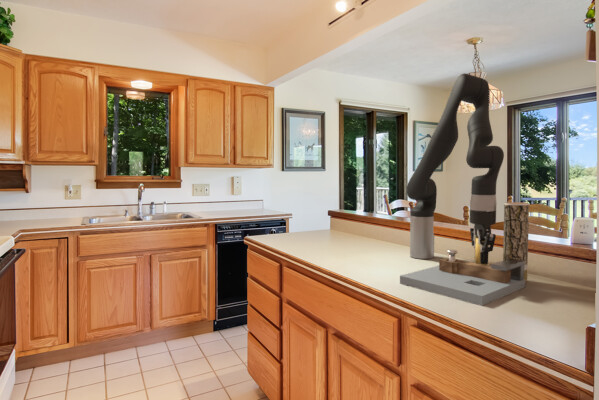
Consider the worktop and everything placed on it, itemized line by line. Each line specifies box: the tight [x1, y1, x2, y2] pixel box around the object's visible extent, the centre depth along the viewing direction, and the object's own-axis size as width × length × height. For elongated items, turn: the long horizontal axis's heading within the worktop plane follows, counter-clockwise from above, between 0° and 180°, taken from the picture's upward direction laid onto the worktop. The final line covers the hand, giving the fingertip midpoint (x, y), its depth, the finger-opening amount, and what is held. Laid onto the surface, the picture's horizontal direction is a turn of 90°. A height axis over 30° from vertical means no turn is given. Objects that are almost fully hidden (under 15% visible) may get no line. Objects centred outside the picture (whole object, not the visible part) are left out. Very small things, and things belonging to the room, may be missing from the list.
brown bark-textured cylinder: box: [502, 201, 530, 283], centre depth 118 cm, size 7×7×25 cm
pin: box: [474, 238, 488, 265], centre depth 118 cm, size 4×4×9 cm
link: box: [438, 257, 511, 283], centre depth 116 cm, size 21×6×4 cm, turn 37°
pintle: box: [446, 249, 458, 262], centre depth 121 cm, size 3×3×9 cm
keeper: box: [490, 258, 524, 281], centre depth 108 cm, size 12×4×8 cm, turn 127°
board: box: [399, 265, 526, 306], centre depth 114 cm, size 26×26×2 cm
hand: (481, 261), depth 119 cm, fingers closed on pin, 3 cm apart
